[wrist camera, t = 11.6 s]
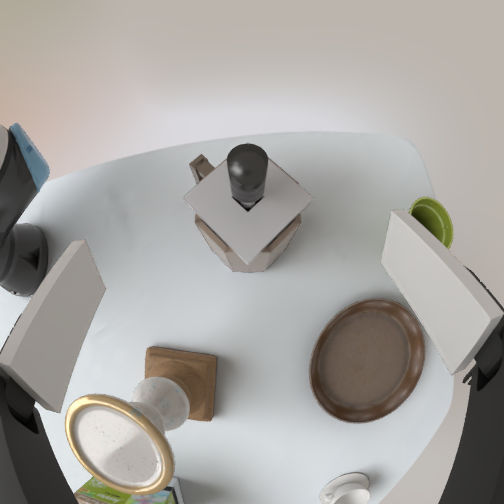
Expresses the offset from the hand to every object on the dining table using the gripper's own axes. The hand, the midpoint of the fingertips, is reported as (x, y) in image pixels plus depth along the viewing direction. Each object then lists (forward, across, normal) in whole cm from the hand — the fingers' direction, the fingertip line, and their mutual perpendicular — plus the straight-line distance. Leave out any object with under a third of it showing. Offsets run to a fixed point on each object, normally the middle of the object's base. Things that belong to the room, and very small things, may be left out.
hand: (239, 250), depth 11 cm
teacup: (-7, +14, -51) cm, 54 cm away
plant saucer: (+12, +18, -32) cm, 39 cm away
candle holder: (+12, -12, -32) cm, 36 cm away
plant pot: (+26, +29, -18) cm, 43 cm away
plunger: (+27, +1, -15) cm, 31 cm away
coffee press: (+29, 0, -15) cm, 32 cm away
